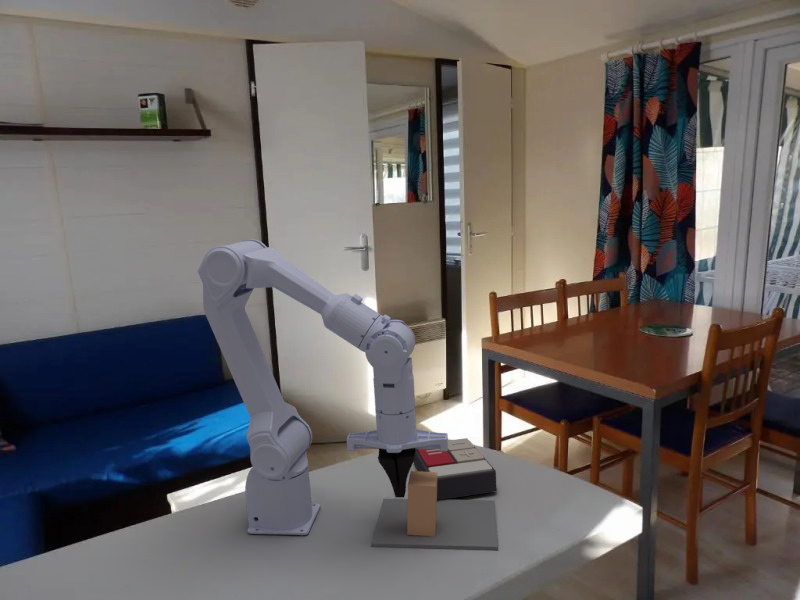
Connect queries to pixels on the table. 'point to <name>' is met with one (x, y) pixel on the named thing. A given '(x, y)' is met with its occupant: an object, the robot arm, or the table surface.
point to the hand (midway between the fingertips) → (400, 493)
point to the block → (422, 503)
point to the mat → (440, 526)
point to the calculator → (457, 469)
